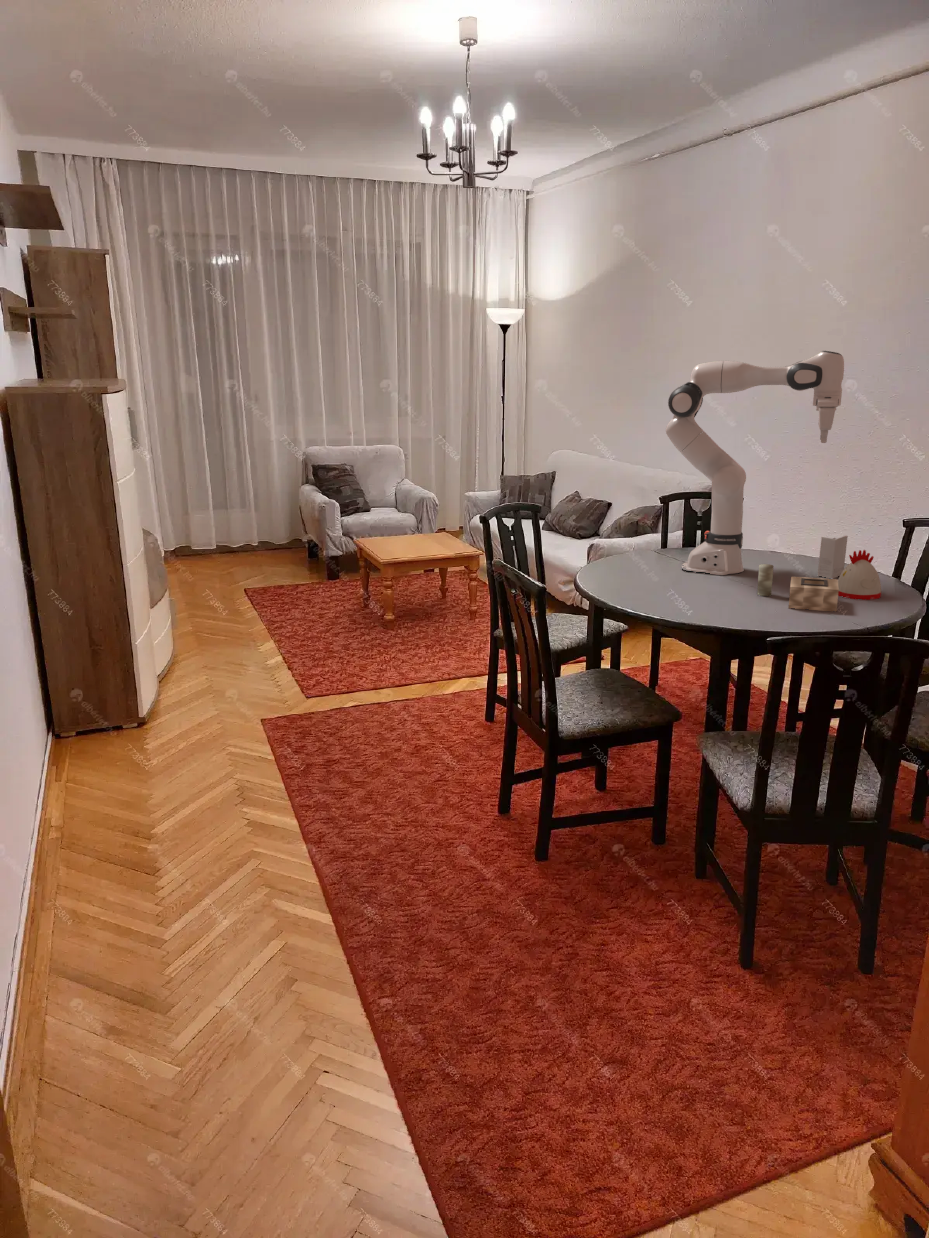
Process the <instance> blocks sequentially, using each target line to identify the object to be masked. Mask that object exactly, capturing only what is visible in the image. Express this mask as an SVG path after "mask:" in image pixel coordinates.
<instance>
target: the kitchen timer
mask: <svg viewBox="0 0 929 1238" xmlns="http://www.w3.org/2000/svg"><path fill="white" fill-rule="evenodd" d="M848 555H849V556H848V557H849V560H850V562H849V564H847V565H846V566H845V567H844V570H843V571H842V573H841V575H840V576H839V577H838V588H839V592H838V597H841V596H843V597H842V598H844V597H846V599H849V598H850V599H851V600H858V599H862V600H863V601H864V600H865V599H866V600H865V601H870V599H871V600H877V599H880V598H881V596H882V583H881V579H880V575H879V573H878V571H877V569H876V568H875V566H874V565H873V564H872V561H873V559H874V556H873V555H872V556H871V553H870V552H867V550H866V549H863V551H862V550H860V549H859V550H858V553H857V551H856V550H854V551H853V554H852V555H851V554H848ZM850 599H849V600H850Z"/></svg>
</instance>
